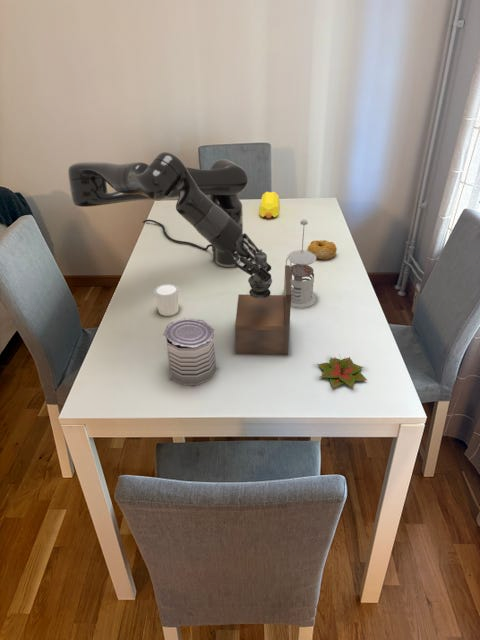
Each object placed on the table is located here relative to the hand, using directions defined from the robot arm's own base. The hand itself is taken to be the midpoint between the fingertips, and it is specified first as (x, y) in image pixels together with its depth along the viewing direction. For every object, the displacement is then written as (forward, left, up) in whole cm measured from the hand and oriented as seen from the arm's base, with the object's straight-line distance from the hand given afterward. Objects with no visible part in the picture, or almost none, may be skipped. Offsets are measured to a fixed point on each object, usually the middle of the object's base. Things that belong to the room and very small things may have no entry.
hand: (268, 274), depth 118 cm
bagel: (-9, +51, -19) cm, 55 cm away
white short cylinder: (-31, -4, -19) cm, 36 cm away
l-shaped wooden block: (-2, -1, -19) cm, 19 cm away
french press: (-3, +22, -19) cm, 29 cm away
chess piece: (-2, -1, -5) cm, 6 cm away
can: (-9, -21, -19) cm, 30 cm away
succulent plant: (+22, -3, -19) cm, 30 cm away
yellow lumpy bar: (-43, +74, -19) cm, 88 cm away
